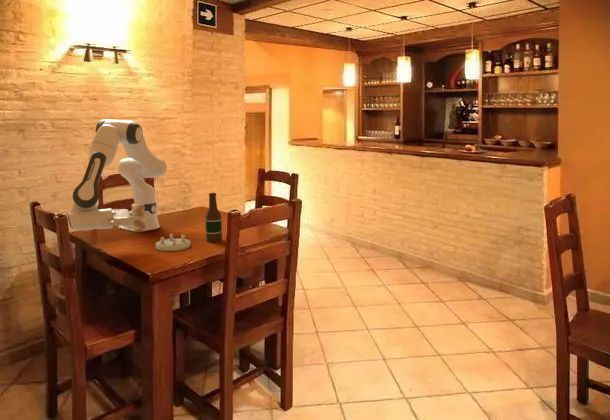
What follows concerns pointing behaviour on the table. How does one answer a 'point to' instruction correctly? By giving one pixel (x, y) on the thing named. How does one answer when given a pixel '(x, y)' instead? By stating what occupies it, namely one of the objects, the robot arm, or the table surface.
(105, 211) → the robot arm
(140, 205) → the birch block
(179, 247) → the peg plinth
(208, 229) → the beer bottle
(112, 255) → the table surface
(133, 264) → the table surface
